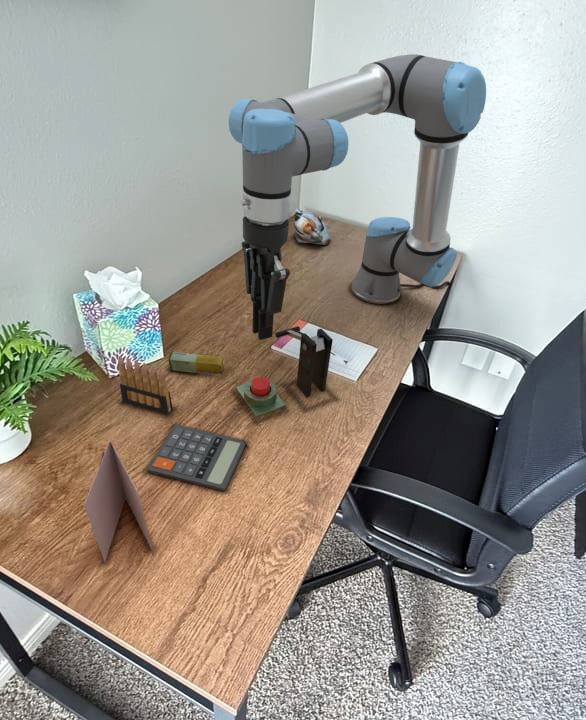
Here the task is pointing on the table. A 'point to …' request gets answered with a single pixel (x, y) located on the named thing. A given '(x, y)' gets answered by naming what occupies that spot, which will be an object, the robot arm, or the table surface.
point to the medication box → (195, 362)
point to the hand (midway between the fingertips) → (262, 334)
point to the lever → (294, 334)
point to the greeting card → (112, 499)
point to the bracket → (313, 363)
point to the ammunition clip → (144, 387)
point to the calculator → (198, 457)
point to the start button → (260, 386)
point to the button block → (261, 399)
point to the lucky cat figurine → (310, 228)
